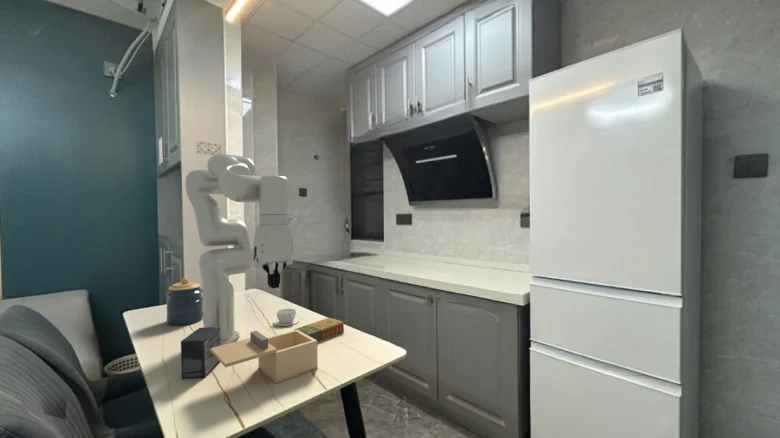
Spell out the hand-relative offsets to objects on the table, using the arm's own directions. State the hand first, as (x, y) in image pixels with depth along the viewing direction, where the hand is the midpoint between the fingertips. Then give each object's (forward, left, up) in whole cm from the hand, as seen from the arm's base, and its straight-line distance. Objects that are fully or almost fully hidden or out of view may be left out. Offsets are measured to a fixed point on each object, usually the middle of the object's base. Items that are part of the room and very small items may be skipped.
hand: (273, 287), depth 91 cm
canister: (-67, -8, -24) cm, 72 cm away
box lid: (+1, -8, -15) cm, 17 cm away
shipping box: (+1, +4, -24) cm, 24 cm away
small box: (-15, -14, -24) cm, 32 cm away
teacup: (-37, +21, -24) cm, 49 cm away
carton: (-15, +23, -24) cm, 37 cm away
